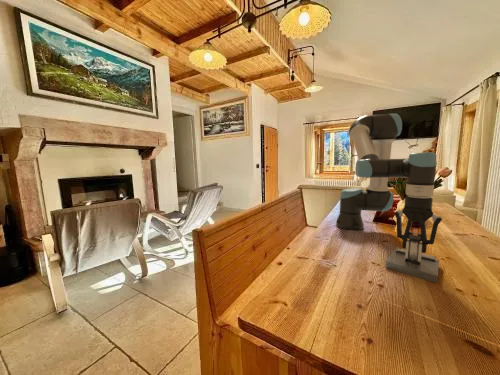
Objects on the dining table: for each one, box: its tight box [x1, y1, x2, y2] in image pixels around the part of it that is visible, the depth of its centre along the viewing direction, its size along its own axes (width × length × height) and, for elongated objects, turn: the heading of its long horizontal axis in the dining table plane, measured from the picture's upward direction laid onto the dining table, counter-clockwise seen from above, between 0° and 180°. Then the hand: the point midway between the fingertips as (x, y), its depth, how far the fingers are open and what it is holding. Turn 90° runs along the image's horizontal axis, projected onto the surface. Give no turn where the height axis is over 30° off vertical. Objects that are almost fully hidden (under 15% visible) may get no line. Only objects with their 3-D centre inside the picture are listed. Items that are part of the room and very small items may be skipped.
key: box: [408, 228, 422, 264], centre depth 74 cm, size 5×4×14 cm
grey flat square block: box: [385, 246, 440, 284], centre depth 74 cm, size 14×14×4 cm
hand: (413, 258), depth 74 cm, fingers closed on key, 3 cm apart
